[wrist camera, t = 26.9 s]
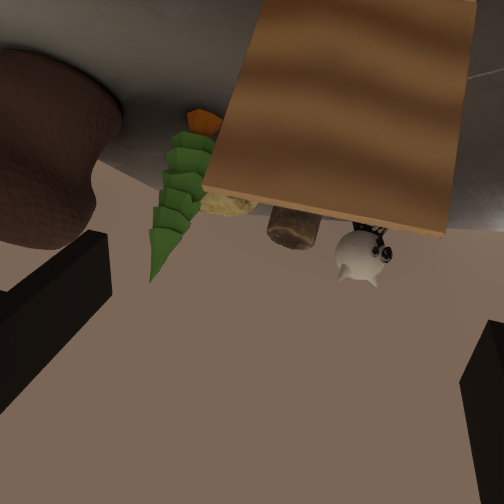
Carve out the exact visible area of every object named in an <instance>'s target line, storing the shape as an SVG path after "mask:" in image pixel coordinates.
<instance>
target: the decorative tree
mask: <svg viewBox="0 0 504 504" xmlns="http://www.w3.org/2000/svg"><path fill="white" fill-rule="evenodd" d="M187 117H188V123H189V129H190V133H188V132H184V131H182V132H180V133H179V134H177V135H175V136H174V137H172V150H170V151H169V152H167V153H166V158H167V163H168V168H169V170H167V171H162V174H163V184H164V189H163V190H160V191H159V207H153V228H152V229H150V230H149V235H150V243H151V273H150V281H149V283H150V282H151V281H152V279H153V278H154V277H155V275H156V274H157V273H158V272H159V271H160V269H161V267H162V265H163V264H164V262H165V261H166V259H167V257H168V256H169V254H170V253H171V252H172V250H173V249H174V248H175V246H176V245H177V244H178V243H179V242H180V240H181V239H182V236H183V235H184V233H185V232H186V231H187V230H188V229H189V227H190V224H191V223H190V221H191V219H192V218H193V217H194V216H195V215H196V214H197V212H198V211H199V210H200V207H201V204H202V203H200V201H201V200H202V198H203V197H204V196H205V195H206V194H207V193H208V192H205V191H204V190H203V188H202V185H201V184H202V181H203V179H204V176H205V173H206V170H207V167H208V164H209V161H210V158H211V155H212V152H213V149H214V146H215V142H213V141H212V140H211V139H210V137H211V135H212V134H214V133H215V132H217V131H218V130H220V128H221V124H222V119H220V118H219V117H217V116H216V115H214V114H213V113H211V112H207V111H204V110H201V109H197V110H194V111H191V112H189V113H187Z"/></svg>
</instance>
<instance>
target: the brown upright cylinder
mask: <svg viewBox="0 0 504 504" xmlns="http://www.w3.org/2000/svg"><path fill="white" fill-rule="evenodd" d="M321 217H322V215H320V214H315V213H310V212H305V211H300V210H295V209H290V208H285V207H280V206H275V205H274V206H273V209H272V213H271V217H270V220H269V224H268V227H267V235H268V236H269V237H270V238H271V240H272V241H274V242H276V243H277V244H279V245H282V246H284V247H287V248H290V249H297V250H307V249H310V248H312V247H313V246H314V243H315V240H316V236H317V232H318V228H319V224H320V221H321Z"/></svg>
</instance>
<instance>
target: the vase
mask: <svg viewBox="0 0 504 504" xmlns="http://www.w3.org/2000/svg"><path fill="white" fill-rule="evenodd" d="M121 124H122V114H121V111H120V108H119V106H118V105H117V103H116V101H115V100H114V99H113V97H112V96H111V95H110V94H109V93H108V92H107V91H106V90H105V89H104V88H103V87H101V86H100V85H99V84H98V83H96V82H95V81H94V80H92V79H91V78H90V77H88V76H86V75H85V74H83V73H81V72H80V71H78V70H76V69H74V68H72V67H70V66H69V65H66V64H64V63H61V62H59V61H56V60H54V59H51V58H49V57H46V56H44V55H40V54H36V53H33V52H27V51H22V50H9V49H7V50H1V51H0V241H3V242H6V243H10V244H14V245H18V246H23V247H28V248H34V249H44V250H56V249H60V248H62V247H63V246H65V245H67V244H69V243H71V242H72V241H73V240H75V239H76V238H77V237H78V236H79V235H80V234H81V233H82V232H83V230H84V229H85V227H86V226H87V224H88V222H89V220H90V219H91V216H92V214H93V212H94V210H95V207H96V197H95V195H94V192H93V189H92V186H91V173H92V170H93V167H94V165H95V163H96V161H97V159H98V157H99V155H100V154H101V152H102V151H103V149H104V148H105V147H106V145H107V144H108V143H109V142H110V140H111V139H112V138H113V137H114V136H115V135H116V134H117V133H118V132H119V130H120V128H121Z"/></svg>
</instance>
